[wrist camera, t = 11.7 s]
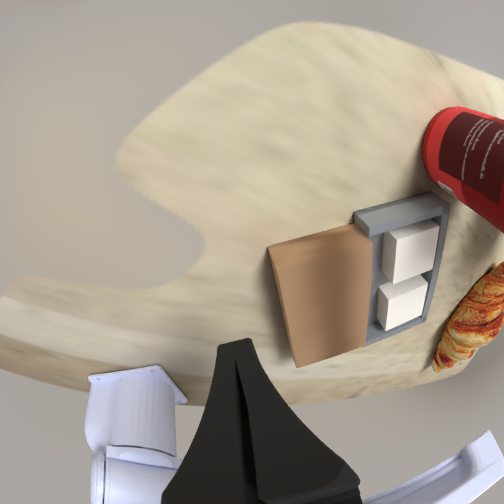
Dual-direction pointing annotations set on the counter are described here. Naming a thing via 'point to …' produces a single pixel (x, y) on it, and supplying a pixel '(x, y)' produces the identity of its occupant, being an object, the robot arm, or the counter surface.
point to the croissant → (473, 321)
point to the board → (324, 291)
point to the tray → (374, 227)
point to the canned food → (468, 159)
